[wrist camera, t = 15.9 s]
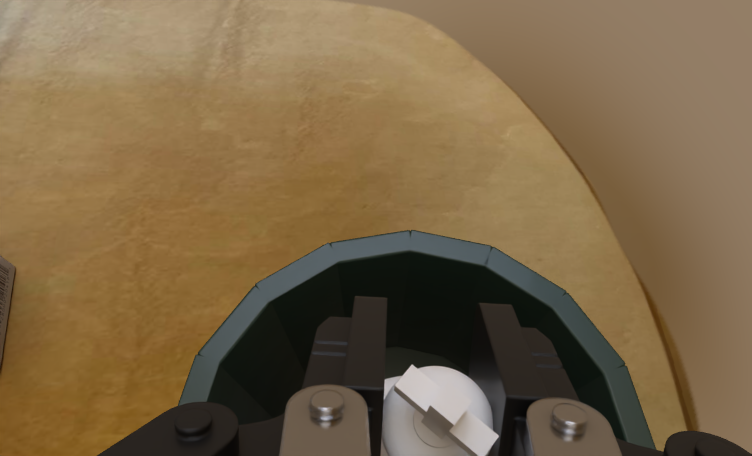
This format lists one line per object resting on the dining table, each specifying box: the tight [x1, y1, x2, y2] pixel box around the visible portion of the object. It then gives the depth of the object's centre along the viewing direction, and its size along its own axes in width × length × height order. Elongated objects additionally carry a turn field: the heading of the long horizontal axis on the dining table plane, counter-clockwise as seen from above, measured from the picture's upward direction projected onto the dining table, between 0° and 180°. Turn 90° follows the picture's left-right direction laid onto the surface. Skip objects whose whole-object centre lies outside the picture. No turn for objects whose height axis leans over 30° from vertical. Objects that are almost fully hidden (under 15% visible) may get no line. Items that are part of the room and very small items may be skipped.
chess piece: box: [380, 365, 499, 456], centre depth 13 cm, size 5×5×10 cm
